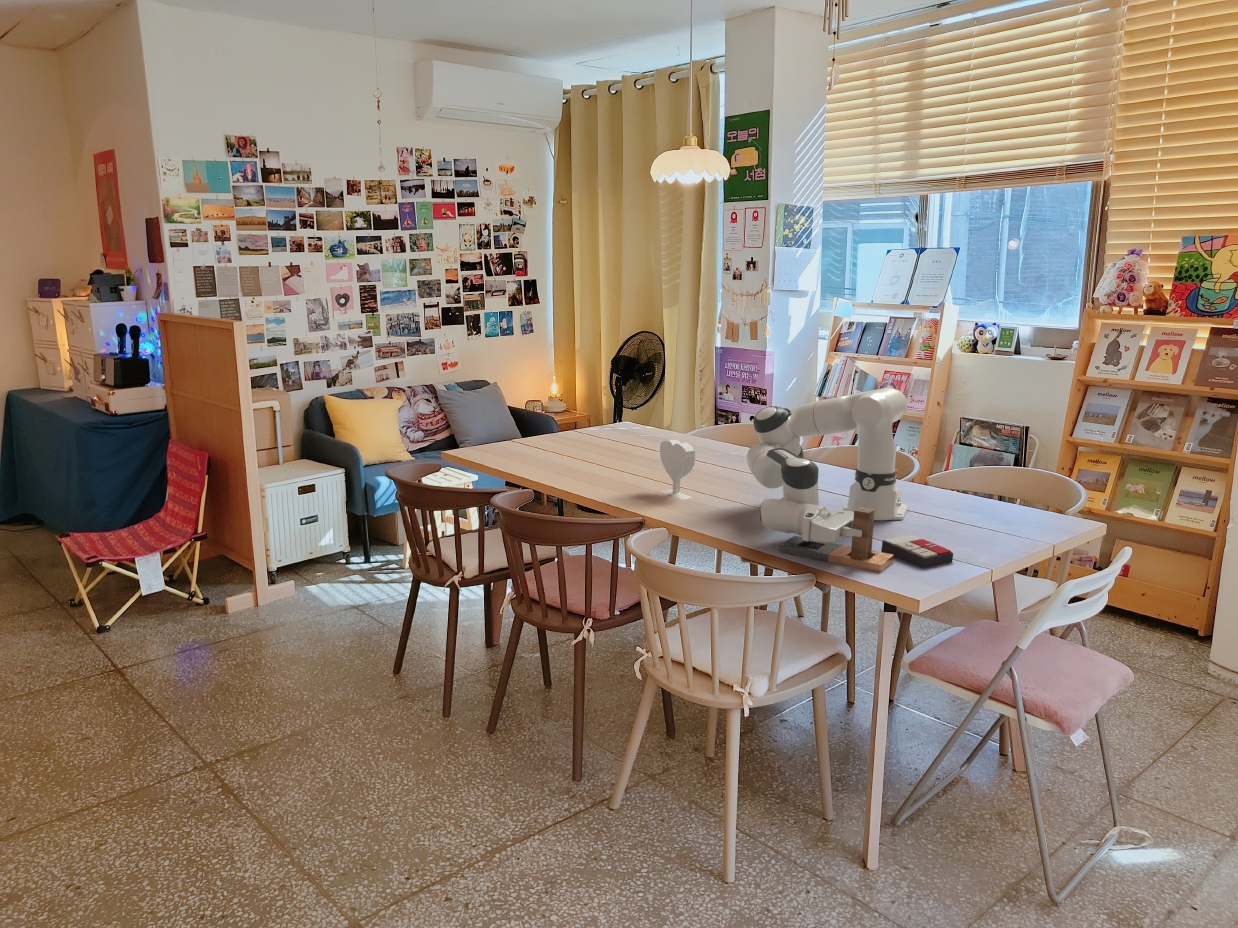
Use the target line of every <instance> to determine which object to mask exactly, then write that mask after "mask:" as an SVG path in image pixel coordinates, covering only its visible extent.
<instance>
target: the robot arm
mask: <svg viewBox="0 0 1238 928" xmlns="http://www.w3.org/2000/svg"><path fill="white" fill-rule="evenodd" d="M907 408H908V401H907V397H906V396H905V394H904V393H903V392H902V391H901V390H899V389H897V388H893V387H882V388H878V389H873V390H867V391H862V392H858V393H853V394H847V395H843V396H837V397H833V398H827V399H821V400H816V401H812V402H807V403H804V404H802V405H798V406H796V407H794V408H792V409H791V410H790V409H789V408H785V407H781V406H777V405H776V406H773V405H772V406H766V407H764V408H762V409H760V410H759V411H758V412H757V413H756V414H755V416H754V417H753V420H752V421H753V427H754V431H755V432H756V434H757V437H758V438H759V443H755V444H753V445H752V446H751V447H750V448H749V449H748V451H747V453H746V463H747V467H748V468H749V471H750V473H751V474H752V475H753V478H755V480H756V481H757V482H758V483H759V484H760V485H761V486H763V487H765V488H767V489H773V490H774V489H778V488H782V493H783V495H782V496H783V497H782V498H779V499H778V498H765V499H763V500H762V502H761V503H760V507H759V520H760V524H761V525H762V526H763V527H765V528H767V529H769V530H773V531H776V532H780V533H784V534H797V535H799V536H800V537H802V540H803V541H811V540H812V541H818V542H826V543H836V542H837V541H839V540H841V539H842V538H844V537H852V536H857V537H861V536H862V535H863V529H859V528H857V529H853V519H854V510H856V509H857V508H859V507H862V508H868V509H874V510H875V511H874V521H889V520H890V521H891V520H896V521H899V520H900V521H901V520H902V521H903V520H904V518H905V515H906V514H907V512H908V507H909V506H908V505H907V504H905V503H902V491H901V489H900V488H899V486H898V485H897V483H896V482H897V475H898V469H897V468H895V467H896V453H897V444H896V443H895V440H894V435H893V423H895V422H898V420H900V419H901V418H902V417H903V415H904V414H905V413H906V411H907ZM851 431H856V432H857V440H858V443H857V444H858V449H857V450H858V454H857V468H855V472H854V480H855V482H853V483H852V484H850V486H849V494H848V500H847V504H846V505H844V506H843V507H842V508H843V509H835V510H833V511H831V512H830V511H828V509H827V507H826V506H823V505H819V504H820V503H819V502H820V501H819V481H818V480H819V467H818V466H817V464H816V463H815V462H814V461H812V460H810V459H808V458H805V457H804V451H803V447H802V446H801V444H800V440H799V438H801V437H819V436H826V435H827V436H828V435H833V434H840V433H846V432H851Z"/></svg>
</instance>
